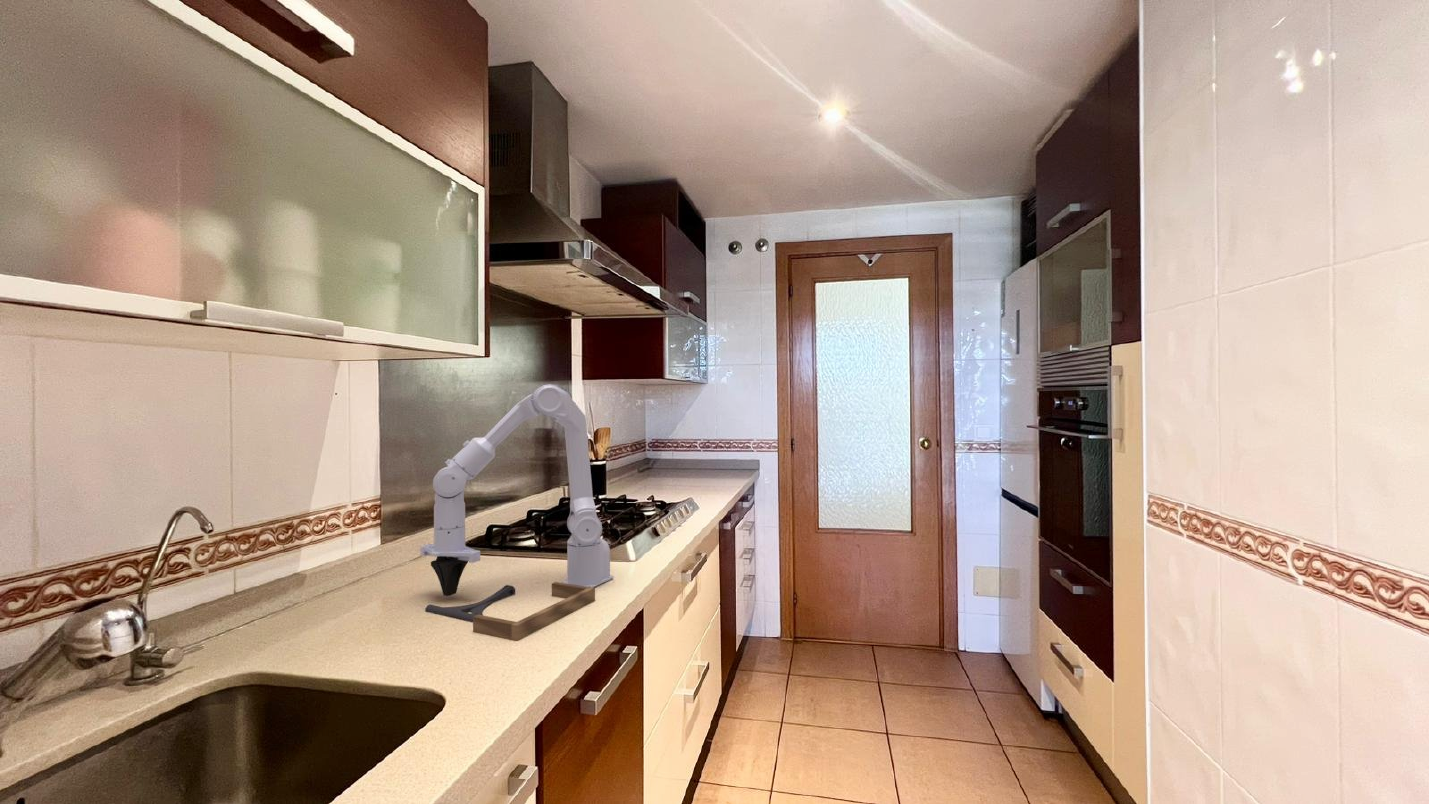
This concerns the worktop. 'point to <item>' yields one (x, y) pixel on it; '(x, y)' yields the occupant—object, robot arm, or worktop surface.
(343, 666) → the worktop surface
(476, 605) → the bracket
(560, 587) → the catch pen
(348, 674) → the worktop surface
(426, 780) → the worktop surface
